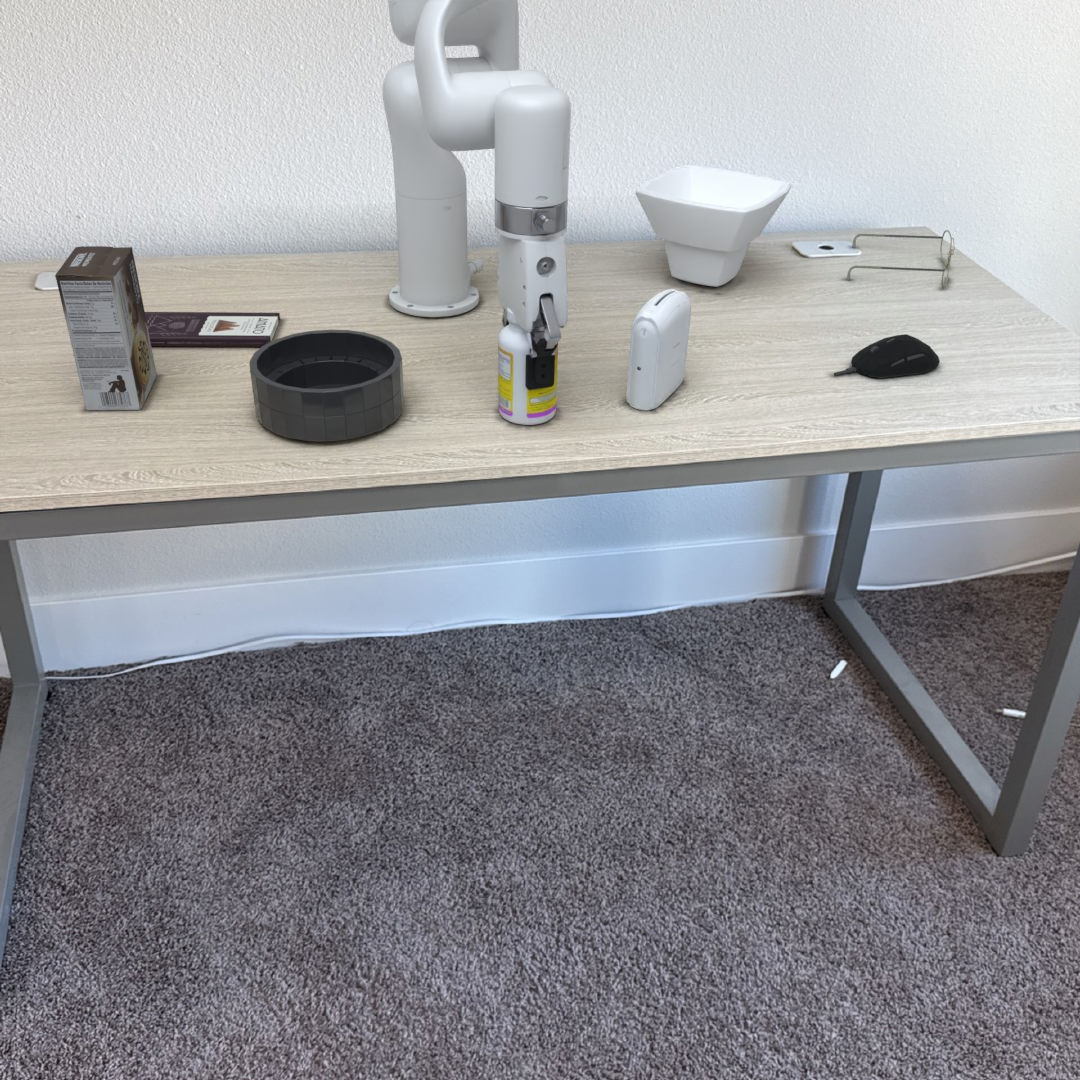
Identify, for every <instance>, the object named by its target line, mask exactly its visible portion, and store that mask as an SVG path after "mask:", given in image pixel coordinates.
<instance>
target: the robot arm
mask: <svg viewBox="0 0 1080 1080" xmlns="http://www.w3.org/2000/svg"><path fill="white" fill-rule="evenodd" d="M387 2H388V3H387V4H388V13H389V19H390V25H391V28H392V32H393V34H394V36H395V38H396V39H397V40H398V42H400V43H402V44H404V45H406V46H411V47H413V59H410V60H407V61H406V60H405V61H403V62H399V63H398V64H395V66H393V67H392V68H390V69H389V70H388V72H387V73H386V75H385V77H384V79H383V81H382V82H383V83H382V102H383V109H384V113H385V118H386V123H387V127H388V132H389V133H388V134H389V140H390V146H391V153H392V164H393V176H394V177H393V178H394V179H393V180H394V195H395V196H394V199H395V217H396V219H395V220H396V237H397V238H396V239H397V240H396V241H397V258H398V280H399V284H397V285H395V286H394V287H393V288H392V289H391V290H390V291H389V293H388V296H389V297H388V301H389V304H390V306H391V307H392V308H393V309H394V310H396V311H397V312H401V313H402V314H406V315H409V316H415V317H422V318H445V317H446V318H447V317H452V316H458V315H461V314H465V313H468V312H469V311H472V310H473V309H474V308H476V307H477V306H478V304H479V303H480V293H479V290H478V289H477V288H476V287H475V286H474V285H472V284H471V279H472V278H473V276H475V275H476V274H478V273H480V272H482V271H483V270H484V268H485V265H484V262H483V260H482V259H481V258H477V257H476V258H474V259H471V260H469V261H468V258H469V257H468V188H467V187H468V186H467V184H468V183H467V175H466V171H465V168H464V166H463V163H462V162H461V161H460V160H459V158H458V157H457V156H456V155H455V154H454V153H453V152H467V151H468V152H469V151H480V150H481V151H482V150H493V149H494V231H495V232H496V233H497V234H498V235H499V239H498V254H497V295H498V301H499V303H500V305H501V307H502V308H503V312H502V313H503V314H502V317H501V322H502V323H501V324H502V326H503V328H504V327H506V326H507V325H509V322H508V319H507V307H508V308H509V309H510V310H511V311H512V312H513V314H514V317H515V321H516V322H517V323H518V324H519V325H520V326H521V327H522V328H523V329H524V330H526V333H527V340H528V348H529V354H528V355H526V374H525V386H526V388H527V389H528V390H534V389H540V388H547V387H552V386H553V385H554V373H555V355H556V353H557V350H556V348H557V345H558V346H559V343H560V341H561V339H562V332H561V329H563V328H565V327H567V324H568V319H569V316H568V315H569V314H568V313H569V308H568V307H569V304H568V303H569V302H568V301H569V299H568V298H569V297H568V296H569V294H568V292H569V290H568V289H569V288H568V287H569V285H568V265H567V264H568V262H567V260H568V259H567V250H566V244H565V243H566V242H565V236H564V235H565V234H566V233H567V229H568V227H567V226H568V205H569V204H568V202H569V178H570V177H569V175H570V173H569V172H570V149H571V147H570V145H571V124H572V105H571V101H570V98H569V96H568V94H567V93H566V92H564V91H563V90H562V89H559V88H557V87H555V85H554V83H553V82H552V80H551V79H550V77H549V76H547V75H546V73H544V72H541V71H539V70H534V69H521V68H520V16H519V13H520V12H519V1H518V0H387ZM463 46H465V47H466V46H474V47H476V49H477V54H478V56H467V57H447V55H446V50H445V49H446V48H445V47H463ZM535 321H542V322H543V326H538V327H533V322H535ZM539 332H545V333H544V338H541V339H539V341H538V342H537V344H536V339H535V333H539Z"/></svg>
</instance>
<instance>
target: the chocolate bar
mask: <svg viewBox="0 0 1080 1080" xmlns="http://www.w3.org/2000/svg"><path fill="white" fill-rule="evenodd" d="M280 314H281V313H280V312H238V311H237V312H234V311H233V312H231V311H230V312H229V311H228V312H225V311H224V312H223V311H222V312H220V311H219V312H218V311H215V312H213V311H211V312H210V311H199V312H198V311H145V316H146V322H147V327H148V332H149V337H150V342H151V347H231V348H232V347H236V348H237V347H238V348H239V347H240V348H243V347H244V348H245V347H246V348H247V347H248V348H249V347H252V348H256V347H257V348H261V347H262V346H264V345H265V344H267V343H270V342H272V341H273V340H274V336H275V333H276V331H277V328H278V326H279V323H280V322H281V315H280Z"/></svg>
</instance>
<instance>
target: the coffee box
mask: <svg viewBox="0 0 1080 1080" xmlns="http://www.w3.org/2000/svg"><path fill="white" fill-rule="evenodd" d="M54 277H55V281H56V285H57V289H58V294H59V298H60V302H61V307H62V311H63V315H64V319H65V324H66V327H67V331H68V332H67V333H68V335H69V336H68V337H69V340H70V341H69V342H70V344H71V345H70V346H71V350H72V353H73V358H74V361H75V366H76V370H77V375H78V376H77V377H78V380H79V384H80V389H81V393H82V397H83V401H84V407H85V410H86V411H139V410H142V409H143V407H144V405H145V402H146V400H147V398H148V396H149V394H150V392H151V389H152V387H153V385H154V383H155V381H156V378H157V376H158V372H157V368H156V364H155V363H156V362H155V359H154V353H153V348H152V346H151V342H150V337H149V332H148V327H147V322H146V316H145V312H146V311H145V306H144V301H143V297H142V291H141V287H140V282H139V276H138V272H137V266H136V262H135V256H134V251H133V247H132V246H127V247H123V246H121V247H113V246H106V245H105V246H104V245H103V246H102V245H101V246H100V245H94V246H93V245H92V246H91V245H90V246H88V245H87V246H85V245H84V246H83V245H82V246H75V247H74V249H73V250H72V252H70V254H69V256H68V257H67V258H66V260H65V261H64V262H63V264H62V265H61V267H60V268H59V269H58V270H57V272H56V273H55V275H54Z"/></svg>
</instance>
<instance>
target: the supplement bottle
mask: <svg viewBox="0 0 1080 1080" xmlns="http://www.w3.org/2000/svg"><path fill="white" fill-rule="evenodd" d="M507 319H508V322H509V325H507V326H506V327H504V326H503V327H502V329H501V331H500V332H499V334H498V337H497V354H498V355H497V357H498V358H497V362H498V363H497V371H498V372H497V373H498V374H497V376H498V377H497V379H498V381H497V383H498V385H497V388H498V389H497V390H498V393H497V394H498V395H497V399H498V411H499V414H500V415H501V417H502V418H503V419H504V420H506V421H508V422H510V423H513V424H517V425H524V426H534V425H539V424H540V425H541V424H543V423H546V422H548V421H550V420H551V419H553V418H554V416H555V415H556V412H557V403H558V402H557V401H558V399H557V398H558V365H559V364H558V362H559V360H558V358H559V357H558V356H559V352H558V351H559V344H558V345H557V348H556V350H557V353H556V355H555V373H554V385H553V386H552V387H547V388H540V389H534V390H528V389H527V388H526V386H525V374H526V355H528V354H529V348H528V340H527V333H526V330H524V329H523V328H522V327H521V326H520V325H519V324H518V323H517V322H516V321H515V317H514V314H513V312H512V311H511V310H510V309H509V308H508V307H507ZM538 326H543V322H542V321H535V322H533V327H538ZM544 333H545V332H539V333H535V339H536V344H537V342H538V341H539V339H541V338H544Z"/></svg>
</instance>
